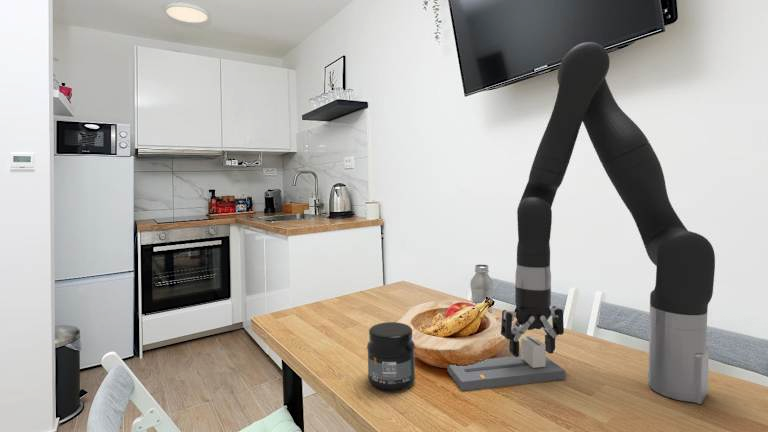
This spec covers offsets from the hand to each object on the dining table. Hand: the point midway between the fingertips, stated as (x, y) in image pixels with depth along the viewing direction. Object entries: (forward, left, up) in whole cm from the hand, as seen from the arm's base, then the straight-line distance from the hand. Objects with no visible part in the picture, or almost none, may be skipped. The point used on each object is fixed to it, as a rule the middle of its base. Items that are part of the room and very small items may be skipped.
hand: (532, 353), depth 87 cm
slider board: (+3, +6, -4) cm, 8 cm away
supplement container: (+18, +27, -4) cm, 33 cm away
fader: (0, 0, -2) cm, 2 cm away
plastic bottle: (+22, -12, -4) cm, 26 cm away
